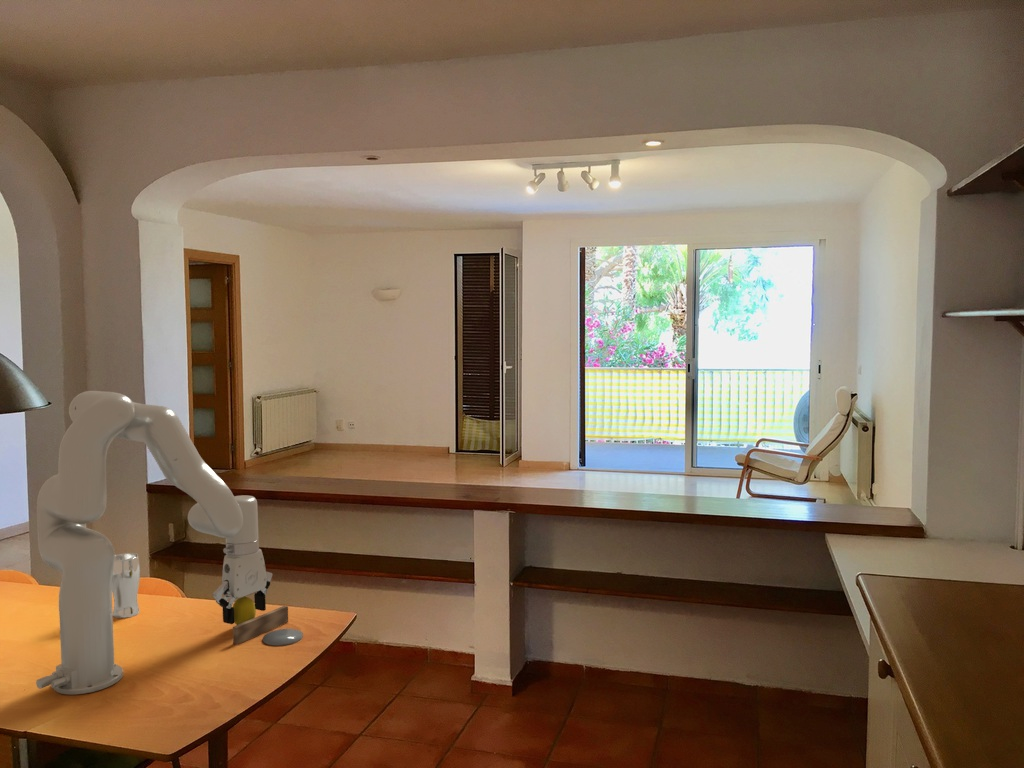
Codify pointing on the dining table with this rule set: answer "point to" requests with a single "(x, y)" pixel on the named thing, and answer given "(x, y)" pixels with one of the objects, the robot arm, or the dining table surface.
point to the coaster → (282, 637)
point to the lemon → (243, 610)
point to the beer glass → (125, 585)
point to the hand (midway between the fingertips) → (244, 616)
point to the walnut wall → (260, 625)
